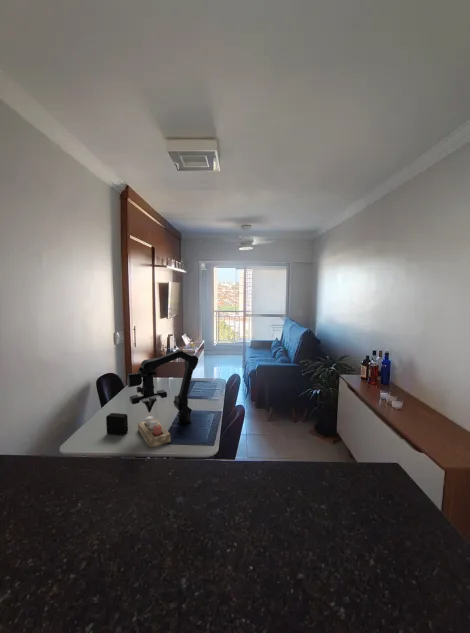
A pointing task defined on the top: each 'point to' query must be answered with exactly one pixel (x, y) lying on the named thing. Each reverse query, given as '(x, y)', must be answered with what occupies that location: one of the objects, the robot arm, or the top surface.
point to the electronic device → (117, 424)
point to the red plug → (157, 430)
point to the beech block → (149, 436)
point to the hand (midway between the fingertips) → (149, 412)
